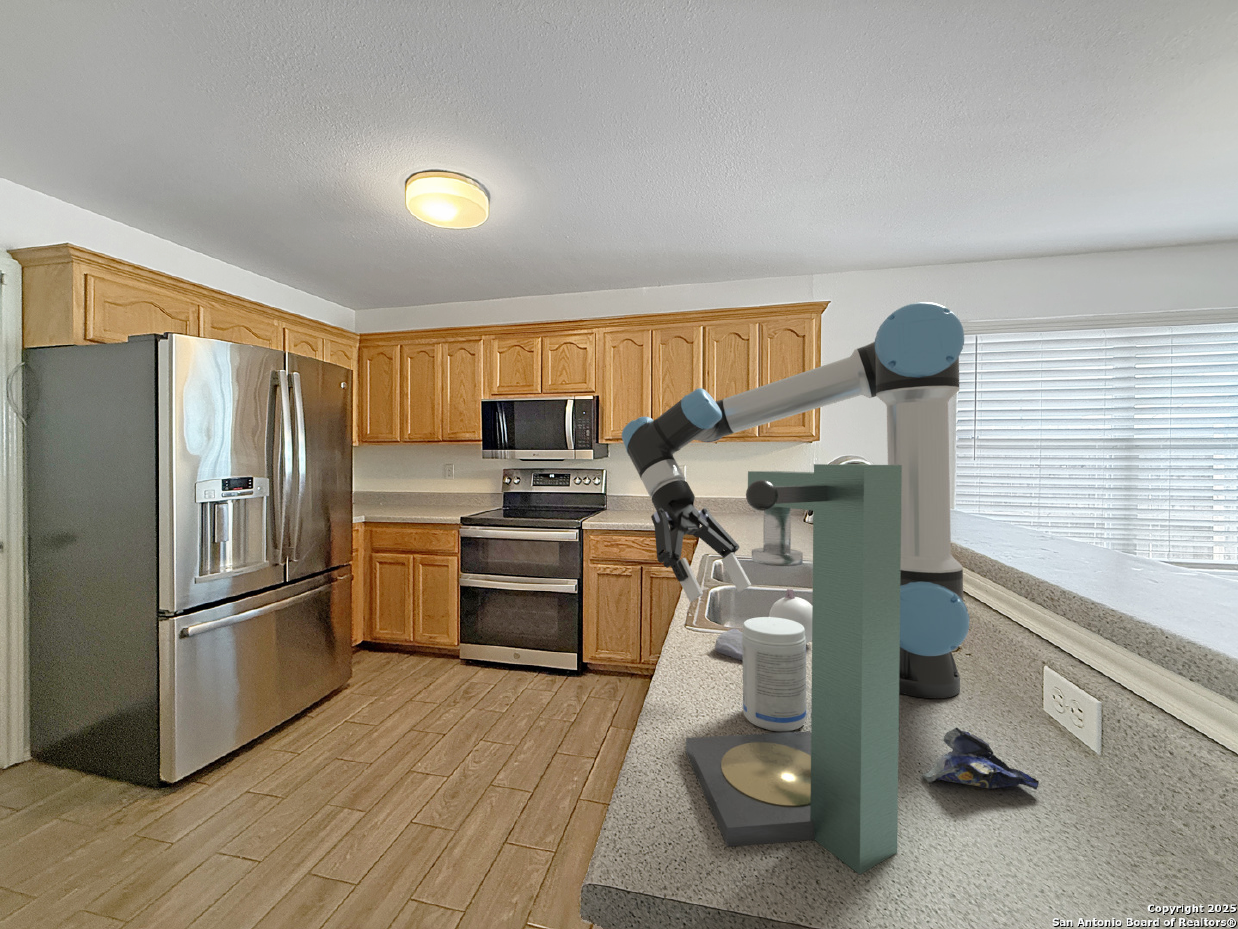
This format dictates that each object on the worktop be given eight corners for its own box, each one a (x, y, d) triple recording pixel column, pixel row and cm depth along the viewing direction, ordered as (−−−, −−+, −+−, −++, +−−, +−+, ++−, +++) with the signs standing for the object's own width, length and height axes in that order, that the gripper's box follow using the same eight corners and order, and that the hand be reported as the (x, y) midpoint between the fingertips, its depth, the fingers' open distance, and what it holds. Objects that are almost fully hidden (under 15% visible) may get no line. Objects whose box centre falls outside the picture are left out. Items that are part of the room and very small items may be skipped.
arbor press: (809, 745, 76) (812, 463, 75) (921, 871, 53) (926, 465, 52) (685, 752, 74) (687, 462, 73) (744, 887, 50) (748, 464, 50)
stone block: (767, 676, 104) (781, 651, 113) (765, 654, 104) (779, 630, 112) (710, 665, 111) (727, 642, 119) (708, 644, 110) (725, 622, 118)
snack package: (909, 748, 76) (926, 795, 65) (918, 703, 76) (937, 743, 64) (1011, 781, 72) (1048, 838, 60) (1021, 733, 71) (1060, 782, 60)
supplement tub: (819, 723, 82) (820, 628, 82) (777, 741, 77) (778, 639, 77) (769, 699, 90) (770, 612, 90) (729, 714, 85) (729, 621, 85)
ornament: (760, 643, 117) (760, 589, 117) (783, 633, 124) (783, 582, 124) (804, 656, 110) (804, 598, 110) (826, 644, 117) (826, 589, 117)
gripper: (697, 501, 110) (748, 594, 101) (607, 501, 94) (658, 613, 84) (721, 480, 106) (777, 575, 96) (632, 475, 89) (688, 590, 79)
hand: (722, 593), depth 90 cm, fingers open, 13 cm apart
